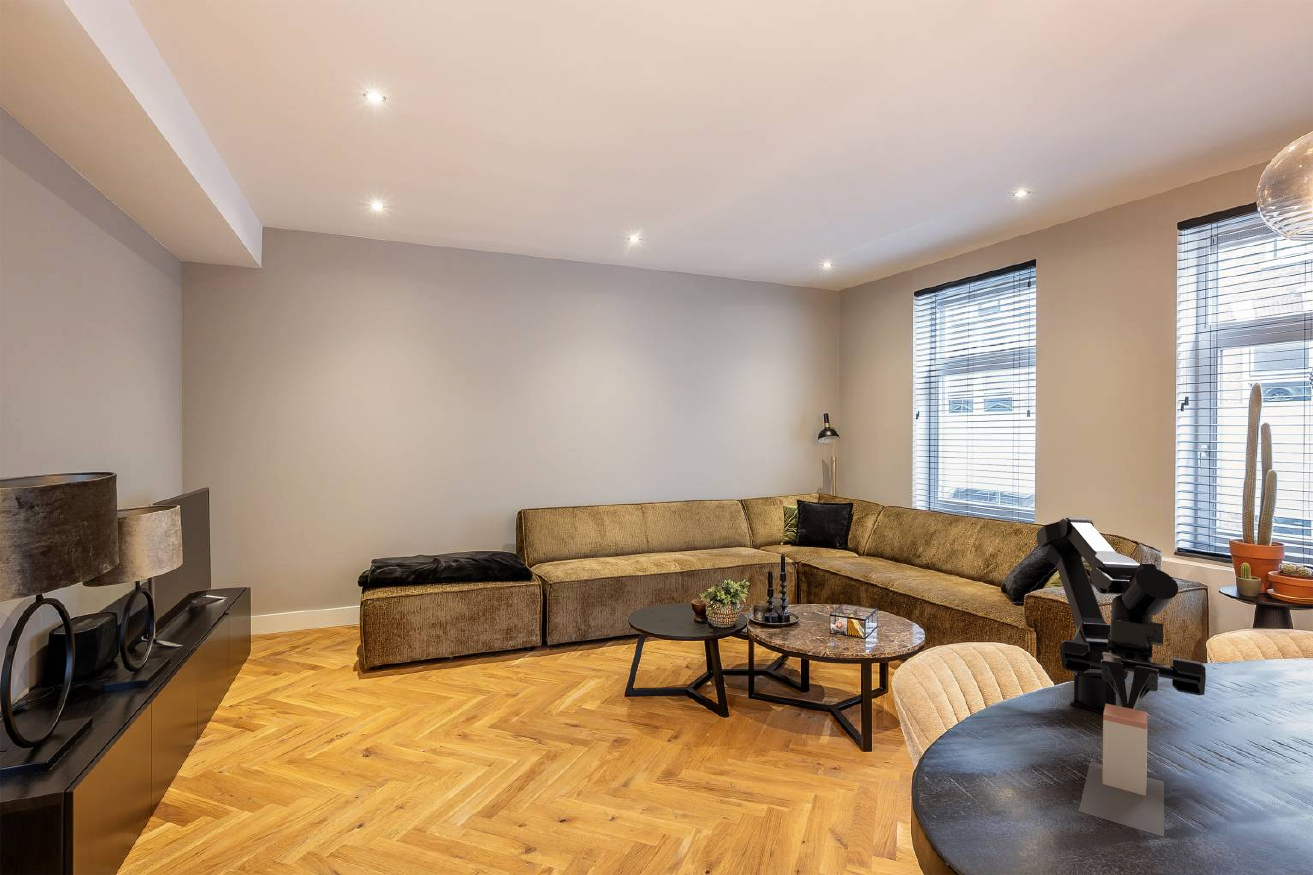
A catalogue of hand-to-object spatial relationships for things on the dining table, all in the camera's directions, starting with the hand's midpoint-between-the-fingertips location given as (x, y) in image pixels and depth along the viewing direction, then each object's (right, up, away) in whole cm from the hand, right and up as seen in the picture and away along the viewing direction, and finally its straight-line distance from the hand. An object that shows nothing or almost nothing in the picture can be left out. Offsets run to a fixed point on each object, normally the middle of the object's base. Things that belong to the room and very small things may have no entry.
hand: (1127, 715), depth 101 cm
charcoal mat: (-8, -8, -10) cm, 15 cm away
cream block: (-5, -7, -6) cm, 11 cm away
